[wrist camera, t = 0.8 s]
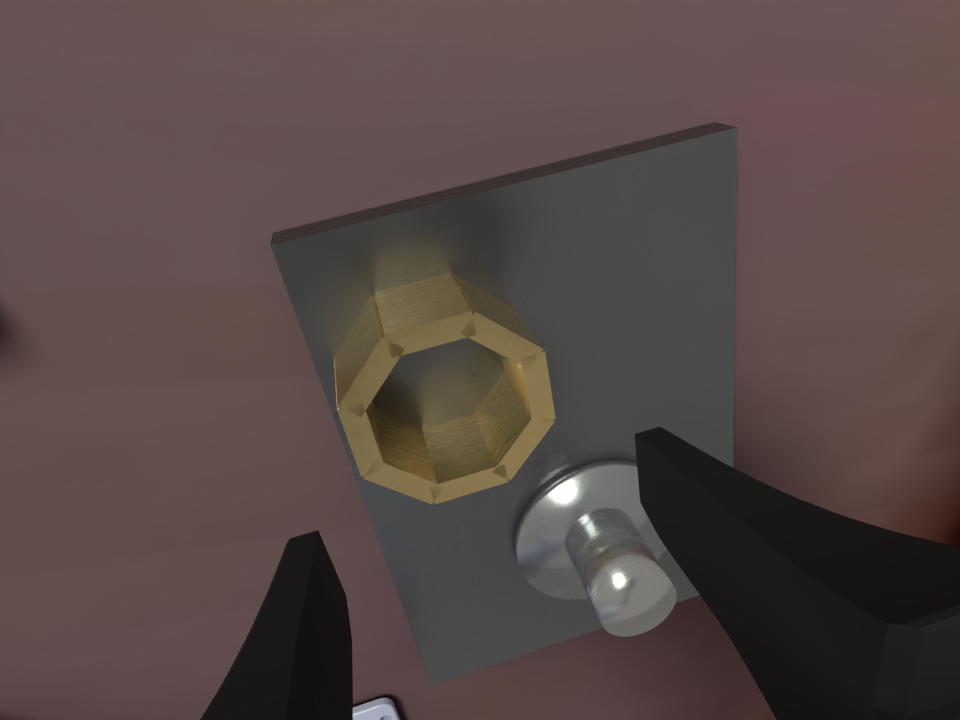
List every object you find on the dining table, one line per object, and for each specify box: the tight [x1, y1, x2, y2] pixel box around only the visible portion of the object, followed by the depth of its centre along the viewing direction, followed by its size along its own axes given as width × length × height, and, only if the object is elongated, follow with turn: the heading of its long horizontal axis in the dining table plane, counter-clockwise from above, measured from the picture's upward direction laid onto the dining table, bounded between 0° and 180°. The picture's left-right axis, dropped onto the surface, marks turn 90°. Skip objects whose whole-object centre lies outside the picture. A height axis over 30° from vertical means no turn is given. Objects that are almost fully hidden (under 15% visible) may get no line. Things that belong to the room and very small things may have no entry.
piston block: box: [271, 122, 737, 686], centre depth 22 cm, size 20×14×5 cm
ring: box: [334, 273, 556, 504], centre depth 19 cm, size 6×6×3 cm
